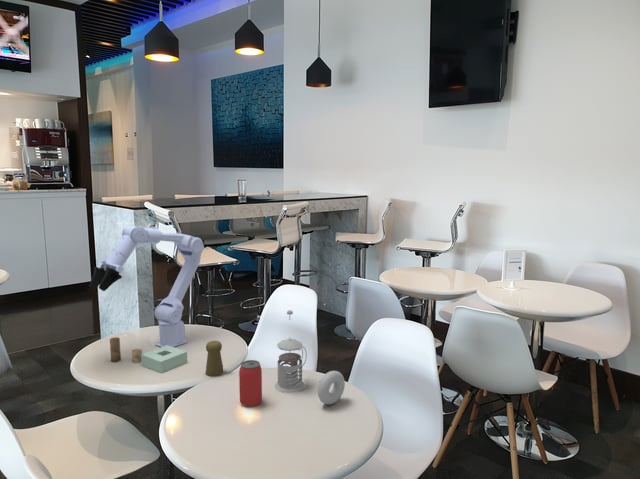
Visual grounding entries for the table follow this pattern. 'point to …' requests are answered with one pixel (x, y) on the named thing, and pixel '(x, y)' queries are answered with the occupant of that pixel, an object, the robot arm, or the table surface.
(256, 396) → the beer can
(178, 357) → the collar block
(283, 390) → the french press
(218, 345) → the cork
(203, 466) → the table surface
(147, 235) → the robot arm
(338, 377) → the donut
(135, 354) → the short pin
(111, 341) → the long pin
